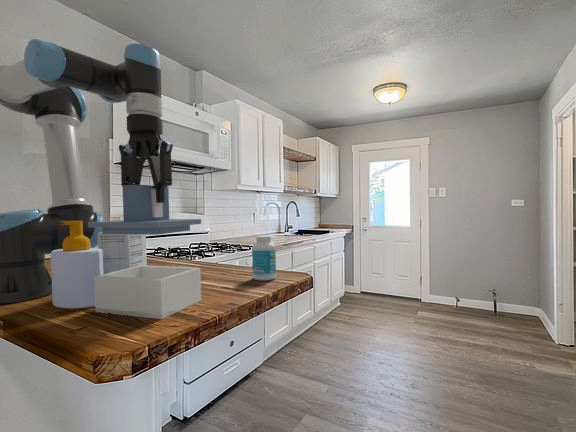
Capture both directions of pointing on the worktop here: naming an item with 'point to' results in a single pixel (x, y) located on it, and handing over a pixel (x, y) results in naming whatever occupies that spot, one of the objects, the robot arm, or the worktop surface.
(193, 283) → the tub
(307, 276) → the worktop surface
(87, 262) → the soap bottle
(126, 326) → the worktop surface
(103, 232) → the lid
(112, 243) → the supplement box
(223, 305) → the worktop surface
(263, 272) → the pill bottle
